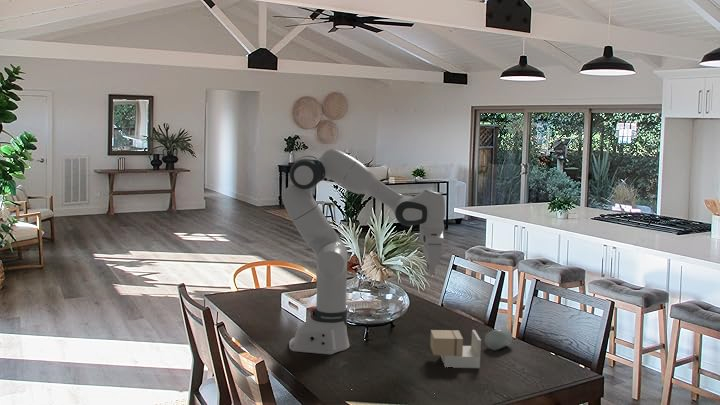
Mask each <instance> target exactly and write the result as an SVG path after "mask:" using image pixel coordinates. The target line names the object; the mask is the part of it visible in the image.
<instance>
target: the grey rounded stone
mask: <svg viewBox="0 0 720 405" xmlns="http://www.w3.org/2000/svg"><path fill="white" fill-rule="evenodd" d="M512 342H513V334H512V332H511V330H510V329H508V328H507V327H506V326H505V327H504V326H503V327H499V328H496V329H492V330H491V331H489V332H487V333H486V334H485V337H484V343H485V345H486V347H487V348H488V349H490V350H491V349H492V350H491V351H498V350H500V349H502V348H505V347H507V346H509V345H511V344H512Z"/></svg>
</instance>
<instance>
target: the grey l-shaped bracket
mask: <svg viewBox="0 0 720 405" xmlns="http://www.w3.org/2000/svg"><path fill="white" fill-rule="evenodd" d="M481 349H482V339H481V338H480V336H479V335H478V332H477V331H476V329H472V330H471V344H470V345H463V353H462V356H460V355H456V356H454V355H440V358H441V361H442V364H443V363H444V364H443V366H444V368H445V369H446V367H447V369H448V367H453V368H454V369H455V368H457V369H460V368H461V369H480V368H481V353H482V352H481ZM453 368H452V369H453Z"/></svg>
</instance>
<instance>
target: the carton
mask: <svg viewBox="0 0 720 405" xmlns="http://www.w3.org/2000/svg"><path fill="white" fill-rule="evenodd" d="M429 344H430V345H429V346H430V349H431V352H432V355H433V356H441V355H454V356H456V355H460V356H462V353H463V346H464V338H463V336H462V334H461V332H460V330H459V329H458V330H457V329H456V330H453V329H451V330H449V329H448V330H447V329H444V330H443V329H430V341H429Z"/></svg>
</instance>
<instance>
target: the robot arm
mask: <svg viewBox="0 0 720 405" xmlns="http://www.w3.org/2000/svg"><path fill="white" fill-rule="evenodd" d="M289 179H290V181H291V184H290V185H289V186H288V187H286V188H285V189H284V191H283V192H282V193H281V200H282V203H283V206H284V209H285V211H286V212H287V214H288V217H289V219H291V221H292V223H293V225H294V226H295V228H296V229H297V231H298V233H299V234H300V236H301V238H302V240H304V242H305V243H306V244H307V246H308V247H309V248H310V249H311V250H312V252H313V253H314V255H315V256H316V259H315V260H316V262H315V264H316V269H315V270H316V271H315V272H316V306H313V305H312V306H311V307H310V309H309V312H310V318H309V319H307V320H306V321H304V322H303V323H302V324H300V325H299V326H298V328H297V329H296V332H295V336H294V337H292V338H291V339H290V340H289V343H288V348H289V350H290V351H292V352H300V353H308V354H309V353H311V354H321V355H333V354H335V353H338V352H342V351H345V350H348V348H350V346H351V345H350V341H349V337H348V330H347V323H348V313H349V312H348V308H347V293H348V292H347V289H348V288H347V287H348V286H347V285H348V284H347V283H348V282H347V281H348V255H349V254H348V250H347V246H345V244H344V242H343V241H342V239H341V238H340V237H339V235H338V233H337V232H336V231H335V229H334V228H333V226H332V225H331V224H330V223H329V220H328V219H327V217H326V216H325V215H324V213H323V211H322V210H321V207H320V206H319V204H318V202H317V201H316V200H315V198H314V196H313V193H312V190H313V188H314V187H316V185H318V184H319V183H320V182H321V181H323V180H324V179H329V180H331V181H332V182H334V183H336V184H337V185H339V186H340V187H342V188H344V189H345V190H347V191H349V192H351V193H353V194H356V195H366V196H367V195H368V196H371V197H372V198H374V199H376V200H377V201H379V202H381V203H382V204H384V205H385V206H387V207H388V208H390V210H391V211H393V213H394V216H395V219H396V220H397V222H398V223H399V224H400V225H402V226H405V227H412V226H418V225H419V236H418V237H419V240H420V241H422V244H423V245H422V253H423V254H422V255H423V256H424V258H425V263H426V271H428V274H429V275H430V276H434V275H435V271H436V266H439V265H440V263H441V255H442V248H443V247H442V245H444V240H445V224H444V219H445V215H446V211H445V210H446V204H445V197H444V195H443V194H442V193H440V191H439V192H438V191H435V190H431V189H424V190H422V191H421V192H419V193H417V194H416V195H414V196H412V195H409V194H404V193H399V192H397V191H396V190H394V189H393V188H391V187H390V186H388V185H386V184H385V183H383V182H382V181H380V179H378V177H376V175H375V174H374V173H373V172H372V171H371V170H370V169H369V167H367V166H366V165H364V164H363V163H362V162H361V161H359V160H358V159H357V158H355V157H353V156H351V155H350V154H347V153H346V152H344V151H341V150H339V149H337V148H329V149H327V150H326V151H324V153H323V154H322V155H321V156H320V157H318V158H316V157H315V156H313V155H305V156H301V157H300V158H297V159H296V160H295V161H294V162H293V164H292V165H291V167H290V170H289Z"/></svg>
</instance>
